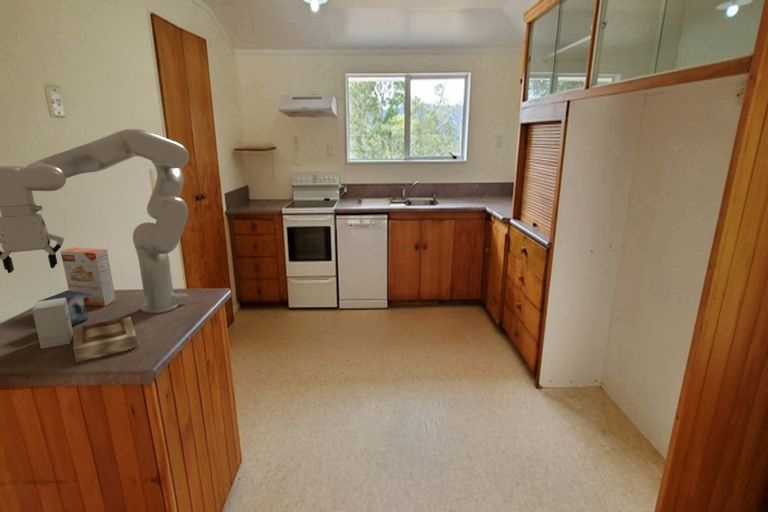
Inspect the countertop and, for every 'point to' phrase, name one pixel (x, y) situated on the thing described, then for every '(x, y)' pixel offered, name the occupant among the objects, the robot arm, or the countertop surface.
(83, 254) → the cracker box
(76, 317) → the small box
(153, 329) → the countertop surface
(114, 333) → the maple plinth
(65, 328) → the supplement box
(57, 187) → the robot arm
